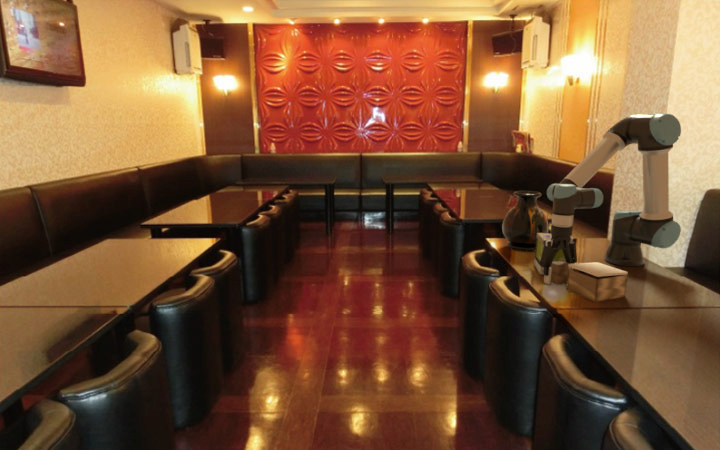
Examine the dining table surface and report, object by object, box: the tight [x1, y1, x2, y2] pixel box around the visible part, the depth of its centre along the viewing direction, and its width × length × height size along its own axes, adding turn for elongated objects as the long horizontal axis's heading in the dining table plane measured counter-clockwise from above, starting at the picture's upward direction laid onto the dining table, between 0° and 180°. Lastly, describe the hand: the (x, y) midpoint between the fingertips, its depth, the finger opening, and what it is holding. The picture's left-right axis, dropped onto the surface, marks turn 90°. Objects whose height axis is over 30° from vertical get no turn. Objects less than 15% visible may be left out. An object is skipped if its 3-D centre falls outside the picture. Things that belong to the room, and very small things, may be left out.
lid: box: [568, 261, 628, 277], centre depth 163 cm, size 14×13×1 cm
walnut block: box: [550, 260, 568, 286], centre depth 177 cm, size 5×5×8 cm
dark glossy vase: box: [501, 190, 549, 253], centre depth 224 cm, size 22×22×28 cm
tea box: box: [533, 232, 566, 276], centre depth 191 cm, size 15×10×15 cm
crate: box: [565, 268, 628, 303], centre depth 165 cm, size 14×13×8 cm
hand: (556, 281), depth 177 cm, fingers open, 9 cm apart
